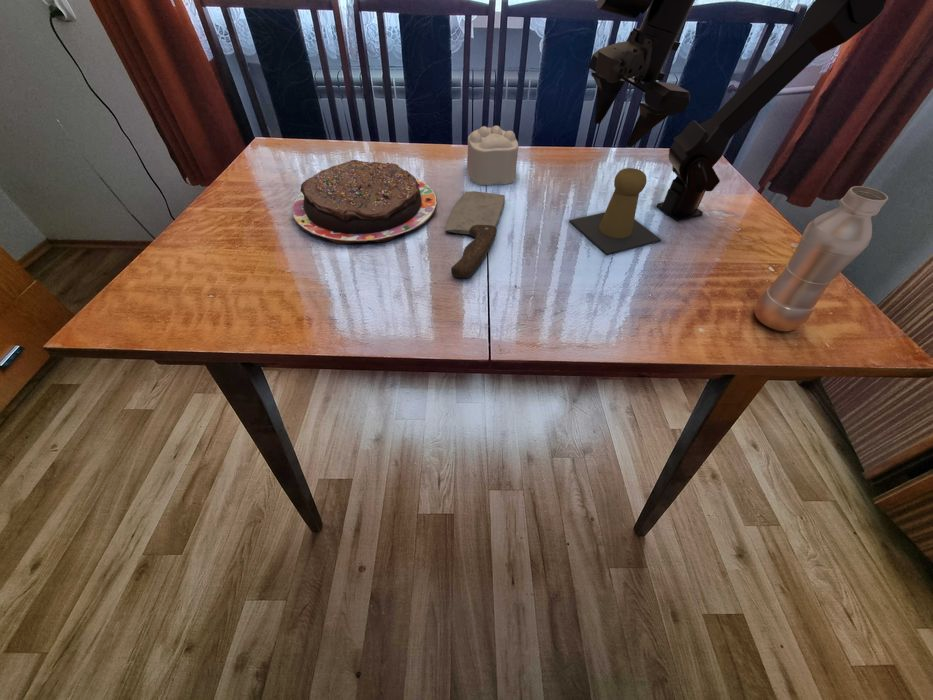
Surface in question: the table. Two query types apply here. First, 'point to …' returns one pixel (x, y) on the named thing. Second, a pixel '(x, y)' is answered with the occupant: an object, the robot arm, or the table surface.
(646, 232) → the dark square mat
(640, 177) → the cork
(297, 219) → the chocolate cake
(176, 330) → the table surface
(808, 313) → the plastic bottle
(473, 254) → the cleaver
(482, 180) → the lumpy-topped squat cylinder
